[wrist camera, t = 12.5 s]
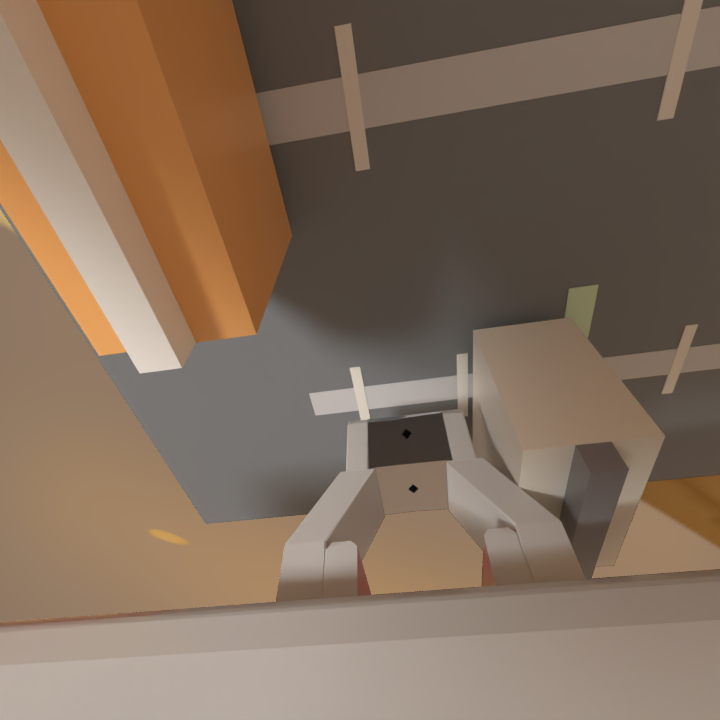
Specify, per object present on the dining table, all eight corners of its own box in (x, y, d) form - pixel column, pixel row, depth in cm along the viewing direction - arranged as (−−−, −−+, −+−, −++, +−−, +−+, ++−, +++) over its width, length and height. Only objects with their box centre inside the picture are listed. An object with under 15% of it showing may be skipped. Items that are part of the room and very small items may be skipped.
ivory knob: (570, 317, 10) (687, 463, 7) (550, 438, 13) (627, 592, 9) (473, 330, 11) (534, 478, 7) (472, 446, 13) (516, 599, 10)
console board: (1341, -542, 6) (1758, -793, 4) (769, 424, 16) (815, 466, 14) (-135, -152, 7) (-273, -209, 6) (219, 481, 18) (205, 524, 16)
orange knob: (222, -37, 7) (50, -149, 3) (292, 235, 9) (247, 359, 5) (81, -5, 7) (-250, -72, 3) (188, 251, 9) (77, 382, 6)
